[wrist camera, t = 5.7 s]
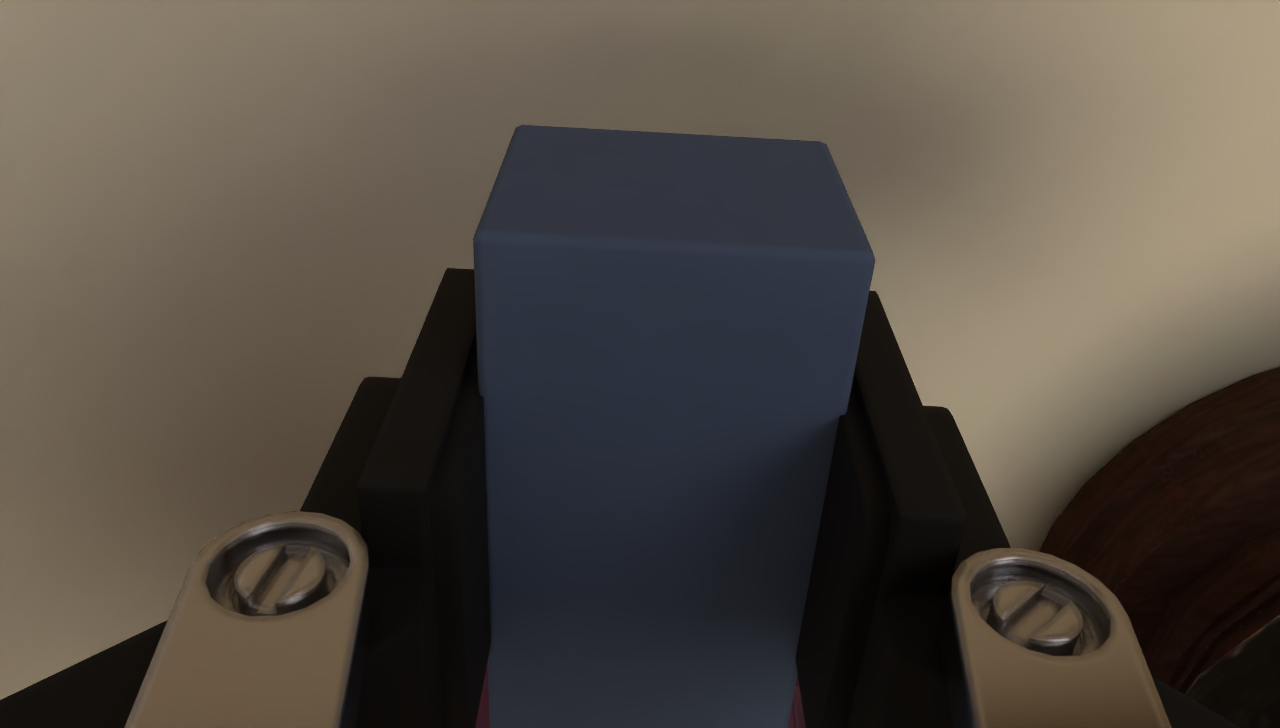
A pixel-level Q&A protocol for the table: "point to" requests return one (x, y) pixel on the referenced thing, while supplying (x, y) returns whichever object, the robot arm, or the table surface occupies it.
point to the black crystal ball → (1195, 548)
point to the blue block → (659, 419)
